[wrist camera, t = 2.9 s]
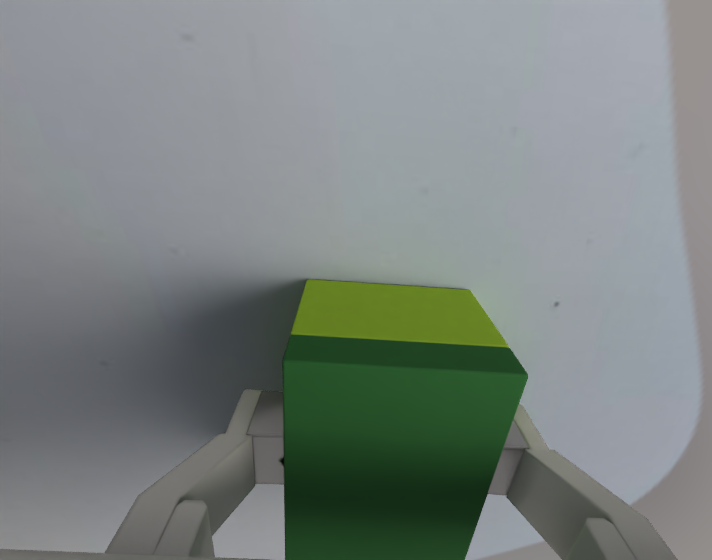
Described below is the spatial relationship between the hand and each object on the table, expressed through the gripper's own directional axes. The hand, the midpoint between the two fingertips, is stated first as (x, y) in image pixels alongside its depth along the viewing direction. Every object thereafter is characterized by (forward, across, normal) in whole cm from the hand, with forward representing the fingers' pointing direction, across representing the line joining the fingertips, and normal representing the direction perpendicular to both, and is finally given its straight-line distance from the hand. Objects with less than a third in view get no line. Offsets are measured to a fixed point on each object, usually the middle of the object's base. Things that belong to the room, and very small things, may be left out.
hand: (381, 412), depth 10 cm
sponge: (+2, 0, 0) cm, 2 cm away
